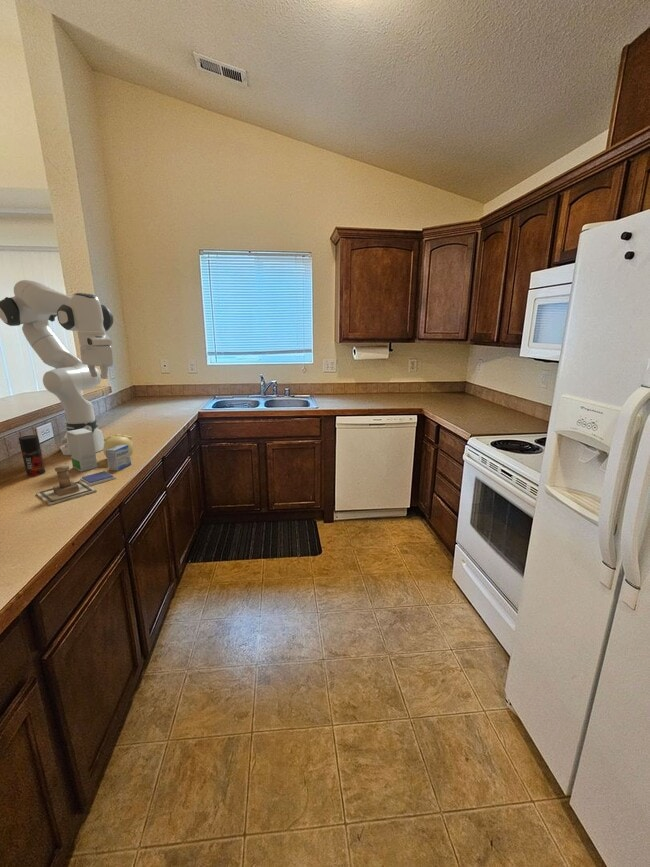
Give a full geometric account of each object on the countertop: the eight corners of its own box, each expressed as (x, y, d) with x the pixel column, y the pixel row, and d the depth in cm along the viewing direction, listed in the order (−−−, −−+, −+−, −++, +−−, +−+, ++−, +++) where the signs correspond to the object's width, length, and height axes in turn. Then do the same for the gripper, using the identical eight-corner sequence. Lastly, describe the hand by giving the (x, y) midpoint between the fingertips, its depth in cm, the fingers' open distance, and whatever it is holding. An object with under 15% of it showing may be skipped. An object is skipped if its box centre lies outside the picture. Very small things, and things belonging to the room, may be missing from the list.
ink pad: (80, 480, 144) (79, 477, 143) (105, 473, 150) (105, 470, 150) (89, 485, 138) (89, 482, 138) (115, 478, 145) (115, 475, 145)
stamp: (53, 491, 132) (48, 467, 130) (73, 486, 136) (68, 463, 134) (59, 496, 128) (54, 471, 126) (79, 490, 133) (74, 466, 130)
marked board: (36, 494, 132) (35, 491, 131) (81, 482, 142) (81, 479, 142) (49, 505, 123) (48, 503, 123) (96, 491, 133) (96, 489, 133)
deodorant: (25, 477, 147) (16, 440, 143) (28, 472, 152) (20, 436, 148) (44, 474, 150) (36, 437, 146) (46, 469, 155) (39, 434, 151)
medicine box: (118, 471, 153) (114, 450, 150) (108, 470, 154) (105, 449, 151) (131, 464, 160) (128, 444, 158) (122, 463, 161) (119, 444, 159)
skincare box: (72, 467, 157) (65, 431, 153) (89, 463, 162) (83, 427, 158) (82, 472, 152) (74, 434, 148) (99, 467, 157) (92, 430, 153)
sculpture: (136, 452, 175) (132, 430, 172) (132, 461, 164) (129, 437, 161) (108, 455, 172) (104, 432, 169) (102, 464, 161) (98, 439, 158)
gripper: (73, 339, 144) (79, 376, 148) (94, 340, 131) (101, 380, 135) (91, 339, 149) (97, 375, 152) (113, 340, 136) (119, 378, 140)
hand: (99, 377), depth 143 cm, fingers open, 8 cm apart
